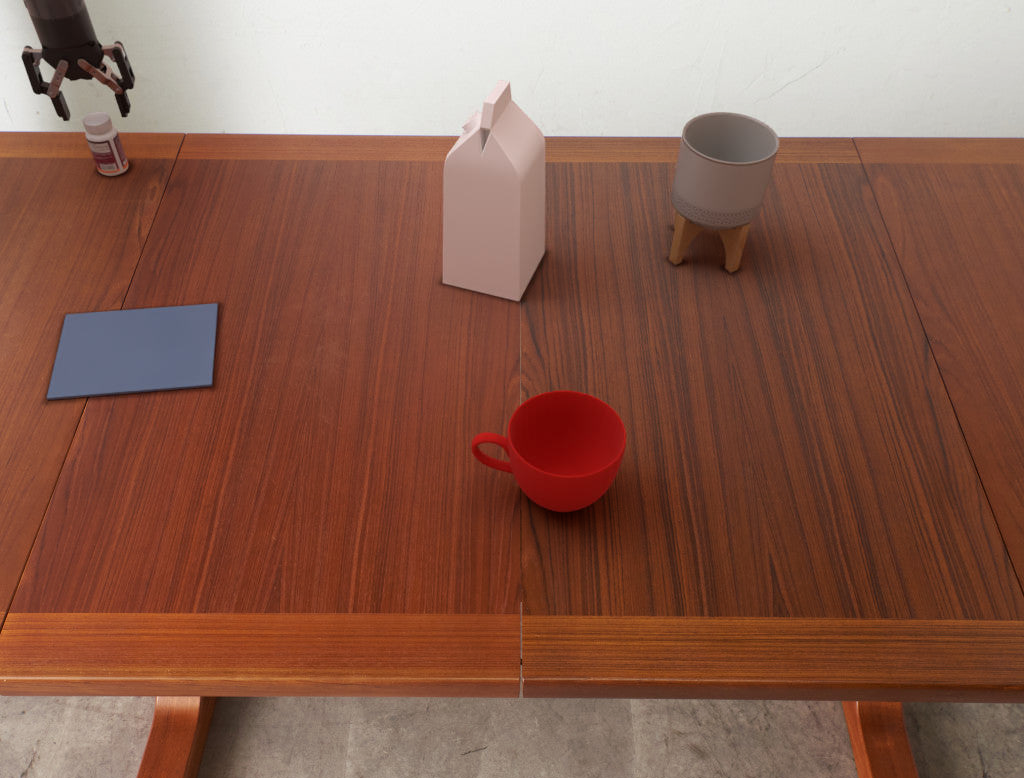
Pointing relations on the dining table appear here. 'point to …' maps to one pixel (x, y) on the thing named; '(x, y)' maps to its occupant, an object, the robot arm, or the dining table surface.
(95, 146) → the pill bottle
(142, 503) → the dining table surface
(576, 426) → the ceramic cup
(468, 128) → the milk
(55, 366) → the cloth
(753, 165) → the planter
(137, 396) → the dining table surface
